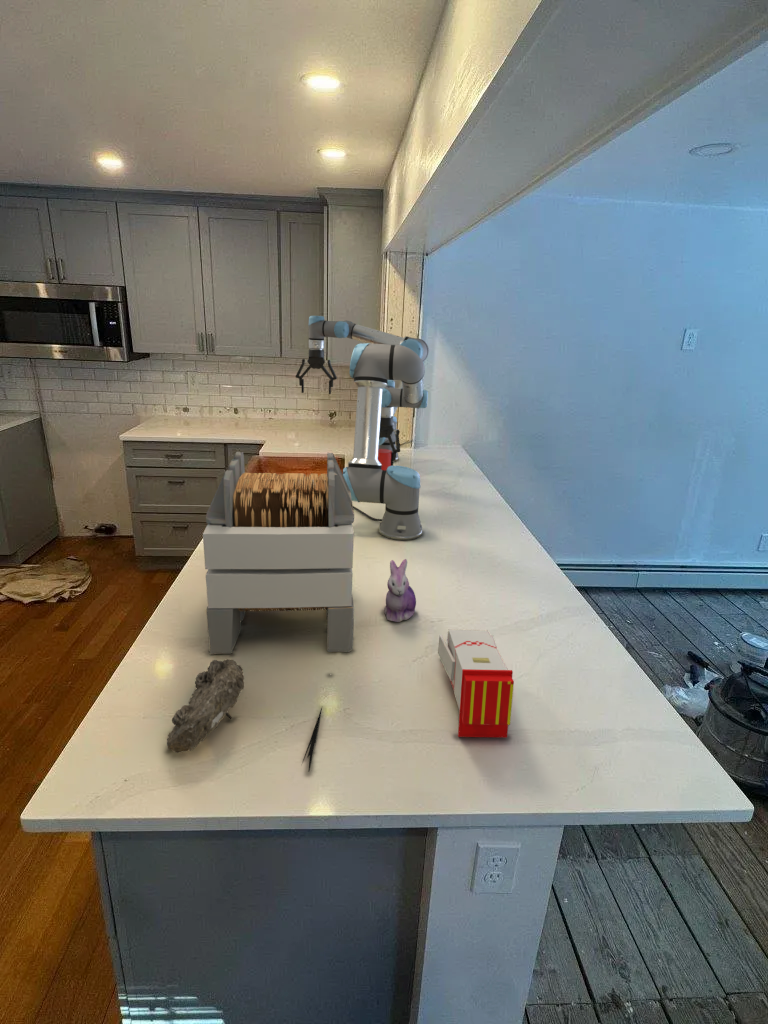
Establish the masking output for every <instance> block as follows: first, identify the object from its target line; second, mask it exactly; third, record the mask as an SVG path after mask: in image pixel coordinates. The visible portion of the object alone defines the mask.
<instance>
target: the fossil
mask: <svg viewBox="0 0 768 1024" xmlns="http://www.w3.org/2000/svg"><path fill="white" fill-rule="evenodd" d="M243 670H244V669H243V667H242V665H240V664H237V662H236V661H235V660H234V659H232V658H231V659H227V658H226V659H224V660H223V661H222V660H217V659H212V660H211V661H210V663H209V665H208V666H207V671H201V672H199V673H198V674H197V675H196V676H195V680H194V684H195V685H194V687H195V689H194V690H193V693H192V694H191V697H190V698H189V700H188V704H184V705H182V706H181V707H180V709H177V710H176V711H175V713H174V715H173V716H172V718H171V723H172V724H173V727H172V730H171V731H170V732H168V734H167V738H166V741H167V742H166V745H167V749H168V750H169V751H173V752H174V753H176V754H178V753H182V752H188V751H189V752H192V751H193V750H195V748H196V747H197V746H199V744H200V743H201V742H203V741H204V740H205V739H206V738H207V737H208V736H209V735H210V734H211V733H212V732H214V730H215V729H217V727H218V726H219V724H220V722H221V721H222V720H223V719H224V718H225V716H226V717H227V719H229V720H233V717H232V715H230V714H229V710H230V709H231V708H234V706H235V704H236V703H237V702H238V699H239V697H240V695H241V693H242V691H243V690H245V689H244V688H245V675H244V671H243Z"/></svg>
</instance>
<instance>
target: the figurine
mask: <svg viewBox="0 0 768 1024" xmlns="http://www.w3.org/2000/svg"><path fill="white" fill-rule="evenodd" d="M407 567H408V559H406V558H404V559H403V560H402V561H401V563H400V565H399V566H398V565H397V563H396V562H395V561H394V560H393V559H391V560H390V561H389V570H390V576H389V578H388V579H387V589H388V591H387V592H386V594H385V595H386V596H385V607H384V615H385V616H386V620H387V621H391V622H395V623H400V622H402V621H406V620H409V619H410V618H411V617H413V616H414V615H415V610H416V606H417V597H416V593H415V591H414V590H413V587H411V586H410V582H409V579H408V577H407V574H406V571H407Z"/></svg>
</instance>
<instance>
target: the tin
mask: <svg viewBox="0 0 768 1024" xmlns="http://www.w3.org/2000/svg"><path fill="white" fill-rule="evenodd" d="M391 457H392V451H391V450H388V449H378V461H379V462H380V463H381V464H382V467H381V470H387V468H388V467H389V466H391Z"/></svg>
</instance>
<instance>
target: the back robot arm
mask: <svg viewBox="0 0 768 1024" xmlns="http://www.w3.org/2000/svg"><path fill="white" fill-rule="evenodd" d="M307 327H308V359H306V358H302V360H301V364H300V366H299V368H298V370H297V373H296V374H295V378H296V379H298V382H299V383H298V384H299V385H298V386H300V387H301V394H304V392H305V379H304V377H305V376H306V375H307V373H308V372H309V371H310V370H311V369H313V370H315V369H317V370H320V369H321V370H322V371H323V373H324V374H325V375H326V376H327V378H328V379H329V380H328V395H331V394H332V388H333V387H334V381H335V380H337V379H338V377H337V374H336V372H335V370H334V368H333V366H332V362H331V361H332V360H331V359H325V350H324V349H325V338H334V339H335V338H337V339H346V338H347V339H351V340H354V341H358V342H361V343H363V344H366V343H374V344H388V345H401V346H405V347H407V348H409V349H411V350H412V351H414V352H415V353H416V354H417V355H418V356H419V357H420V358H421V360H422V361H423V362H425V361H426V360H427V359H428V356H429V352H430V349H429V345H428V344H427V342H426V341H425V340H424V339H421V338H415V337H411V336H406V335H405V336H404V337H403V336H401V335H396V334H392V333H389V332H386V331H382V330H379V329H375V328H372V327H368V326H365V325H362V324H358V323H355V322H352V321H350V320H326V319H325V316H324V315H309V317H308V325H307ZM305 364H308V367H306V369H305V370H304V371H303V372H302V370H303V369H304V366H305ZM325 364H326V365H327V367H328V369H329V371H330V372H329V371H328V370H327V368H326V367H325V366H324V365H325ZM330 373H331V374H330ZM393 381H394V382H395V388H402V389H403V386H402V381H401V380H393ZM398 408H399V407H394V412H393V416H392V417H393V428H394V429H398V428H397V427H398V421H397V420H398V418H397V416H395V414H396V413H397V410H398ZM390 436H391V439H392V442H393V444H394V447H395V449H397V446H396V437H395V434H394V431H393V432H392V434H391V435H390ZM378 449H388V450H391V451H392V452H393V450H392V448H391V445H390V442H389V440H388V438H385V437H383V438H380V439H379V448H378ZM397 461H399V452H397V453H396V460H393V463H395V462H397Z"/></svg>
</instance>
